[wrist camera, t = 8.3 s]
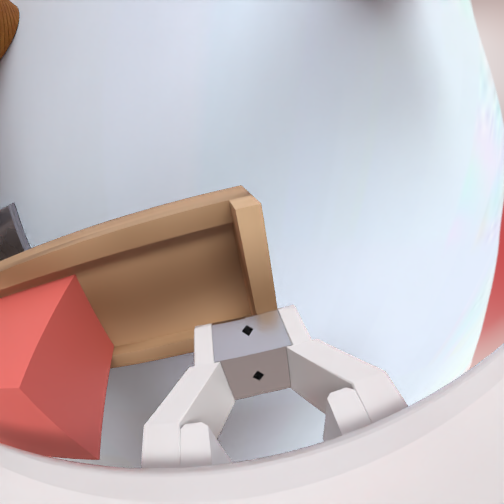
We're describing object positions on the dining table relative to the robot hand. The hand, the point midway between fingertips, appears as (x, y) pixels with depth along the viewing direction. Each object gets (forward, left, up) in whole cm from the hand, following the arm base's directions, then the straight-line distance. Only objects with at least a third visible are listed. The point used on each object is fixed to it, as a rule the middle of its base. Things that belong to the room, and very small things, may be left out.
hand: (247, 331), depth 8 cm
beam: (0, -16, -7) cm, 17 cm away
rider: (0, -9, -3) cm, 10 cm away
